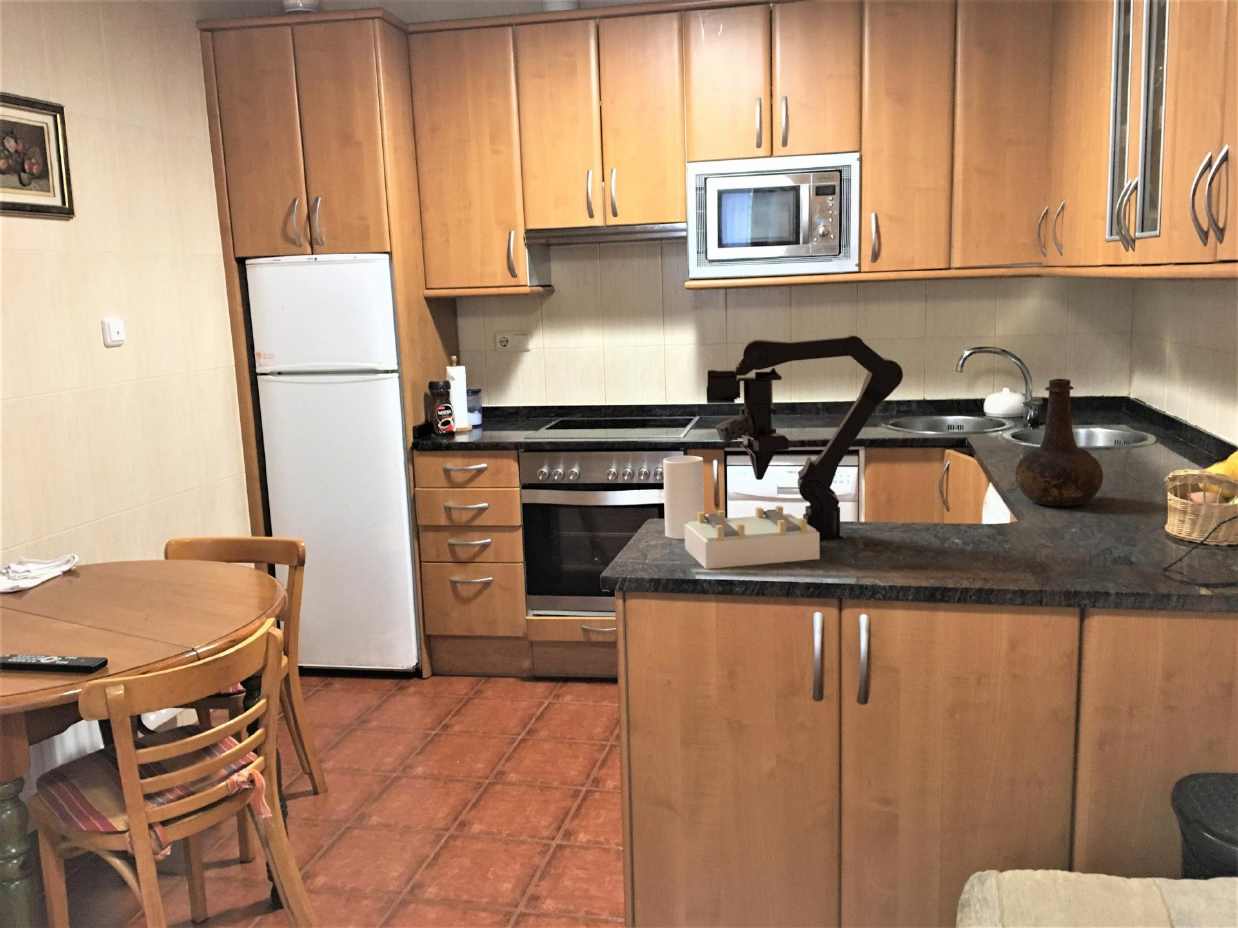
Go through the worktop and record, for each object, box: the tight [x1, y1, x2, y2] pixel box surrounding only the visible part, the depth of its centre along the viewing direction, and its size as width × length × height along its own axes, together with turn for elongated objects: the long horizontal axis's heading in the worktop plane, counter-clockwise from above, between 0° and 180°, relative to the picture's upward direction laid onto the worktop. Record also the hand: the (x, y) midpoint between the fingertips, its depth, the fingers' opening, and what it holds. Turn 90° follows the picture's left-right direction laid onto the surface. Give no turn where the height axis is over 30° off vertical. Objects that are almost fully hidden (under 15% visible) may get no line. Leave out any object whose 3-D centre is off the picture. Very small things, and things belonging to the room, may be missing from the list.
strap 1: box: [704, 513, 737, 536], centre depth 193 cm, size 14×2×1 cm, turn 11°
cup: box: [662, 455, 705, 540], centre depth 211 cm, size 8×8×16 cm
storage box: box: [684, 505, 820, 570], centre depth 194 cm, size 22×15×8 cm
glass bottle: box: [1014, 378, 1104, 508], centre depth 227 cm, size 18×18×28 cm
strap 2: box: [763, 508, 799, 531], centre depth 195 cm, size 14×2×1 cm, turn 11°
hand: (759, 479), depth 206 cm, fingers closed
